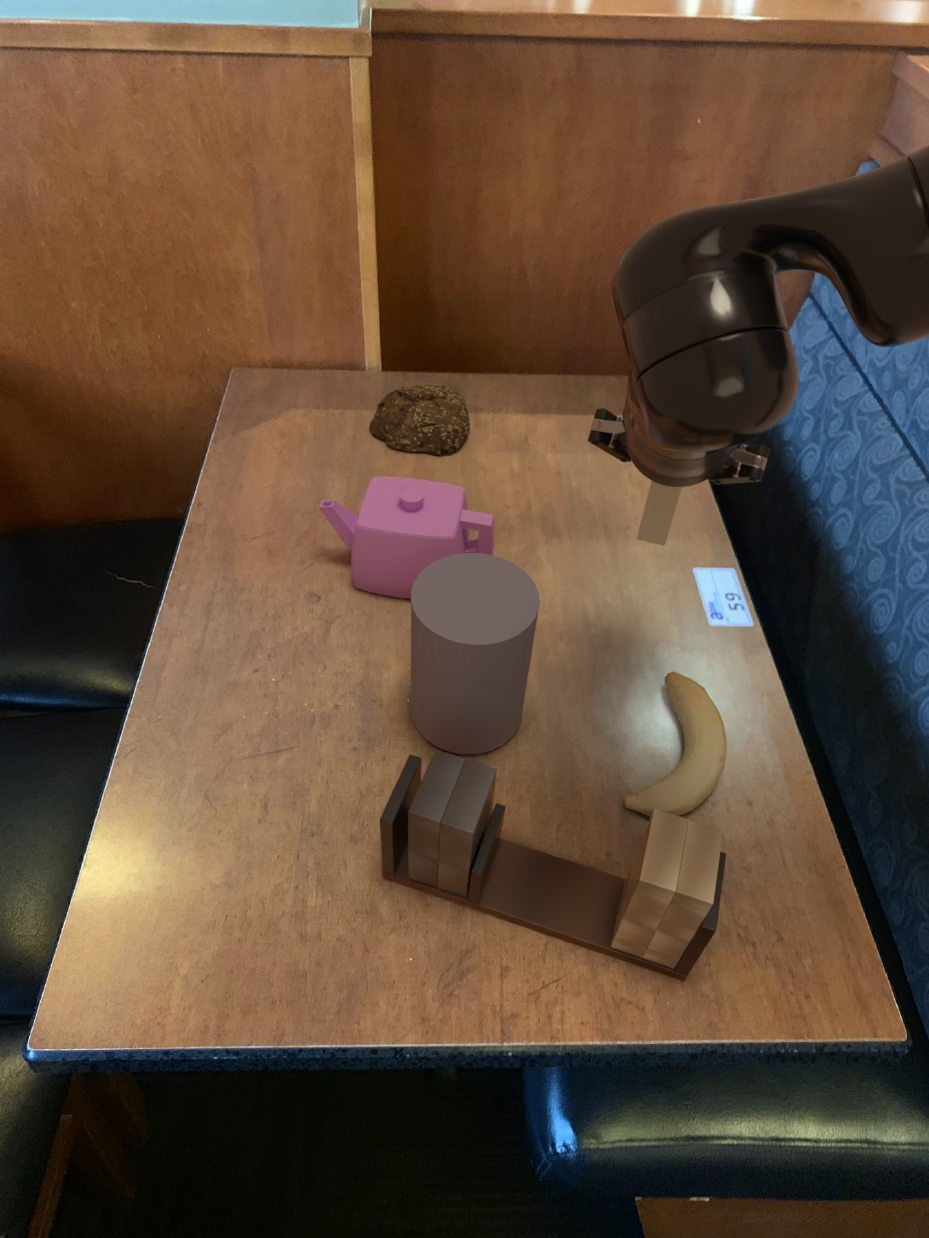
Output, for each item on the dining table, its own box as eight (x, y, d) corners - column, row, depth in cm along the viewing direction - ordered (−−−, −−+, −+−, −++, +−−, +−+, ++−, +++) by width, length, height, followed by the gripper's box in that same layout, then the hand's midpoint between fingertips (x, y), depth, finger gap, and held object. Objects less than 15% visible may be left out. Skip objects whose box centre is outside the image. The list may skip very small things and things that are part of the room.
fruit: (736, 708, 80) (746, 686, 78) (703, 840, 70) (713, 820, 68) (662, 684, 82) (669, 661, 80) (620, 809, 72) (627, 788, 70)
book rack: (695, 907, 66) (738, 831, 58) (684, 981, 62) (728, 911, 54) (409, 814, 71) (409, 730, 62) (382, 877, 67) (378, 797, 58)
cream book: (675, 507, 75) (706, 399, 67) (664, 546, 72) (696, 436, 64) (648, 501, 76) (676, 392, 68) (636, 539, 72) (664, 429, 64)
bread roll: (471, 403, 114) (473, 370, 110) (467, 459, 105) (470, 424, 101) (376, 397, 113) (375, 364, 110) (364, 452, 105) (363, 418, 101)
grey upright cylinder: (404, 751, 75) (403, 638, 64) (417, 662, 82) (418, 548, 71) (520, 761, 75) (539, 650, 64) (523, 671, 82) (540, 558, 71)
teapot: (313, 590, 88) (305, 514, 81) (337, 525, 95) (331, 450, 88) (485, 612, 87) (492, 537, 80) (496, 545, 94) (503, 470, 87)
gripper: (809, 386, 53) (766, 443, 70) (594, 340, 56) (603, 406, 73) (775, 501, 54) (741, 530, 71) (563, 451, 56) (580, 490, 73)
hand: (671, 467), depth 72 cm, fingers closed on cream book, 2 cm apart
